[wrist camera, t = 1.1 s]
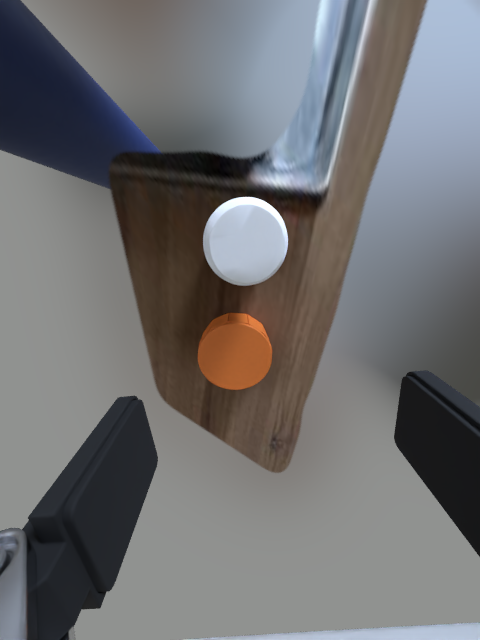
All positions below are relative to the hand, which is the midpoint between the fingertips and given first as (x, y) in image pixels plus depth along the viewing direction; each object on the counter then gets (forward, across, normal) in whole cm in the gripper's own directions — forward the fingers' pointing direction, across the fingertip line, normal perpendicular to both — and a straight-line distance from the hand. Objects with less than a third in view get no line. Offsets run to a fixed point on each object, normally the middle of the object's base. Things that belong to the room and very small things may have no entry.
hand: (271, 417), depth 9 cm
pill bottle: (+19, 0, -6) cm, 20 cm away
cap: (+19, +2, +6) cm, 20 cm away
